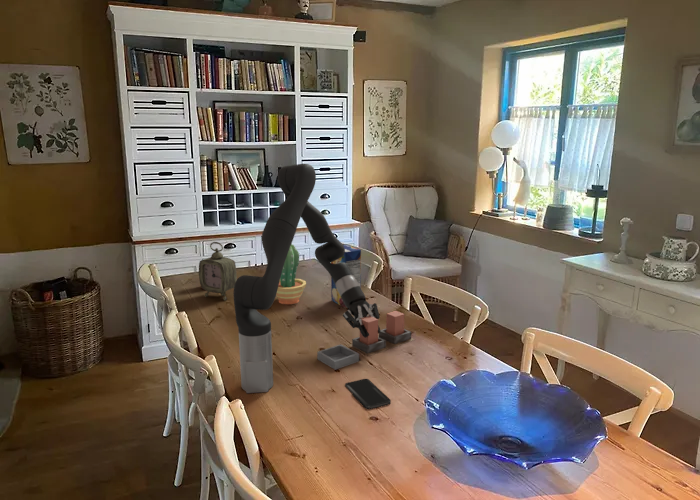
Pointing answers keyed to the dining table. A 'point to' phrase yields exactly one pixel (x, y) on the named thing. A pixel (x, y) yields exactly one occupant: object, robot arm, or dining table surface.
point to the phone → (367, 394)
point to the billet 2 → (395, 323)
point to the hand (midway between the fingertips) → (372, 334)
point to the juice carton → (354, 262)
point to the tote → (338, 356)
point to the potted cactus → (290, 279)
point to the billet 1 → (370, 330)
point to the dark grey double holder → (382, 342)
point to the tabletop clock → (217, 273)
